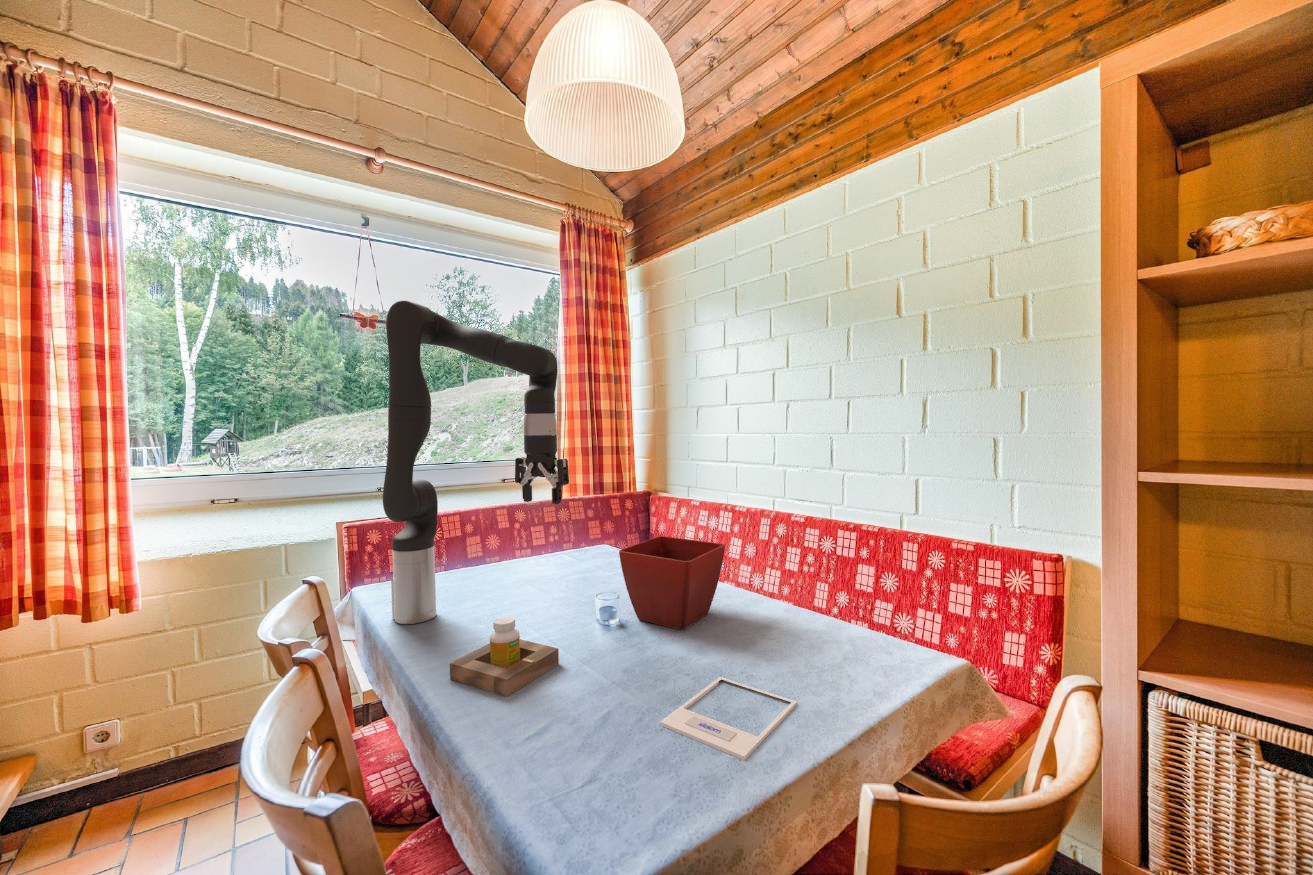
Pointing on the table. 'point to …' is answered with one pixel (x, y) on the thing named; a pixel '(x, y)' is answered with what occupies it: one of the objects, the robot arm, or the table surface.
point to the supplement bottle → (504, 643)
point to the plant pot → (672, 579)
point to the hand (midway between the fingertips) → (542, 502)
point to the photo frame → (720, 726)
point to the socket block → (501, 680)
